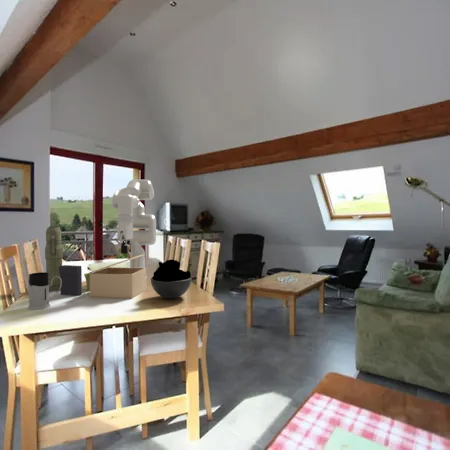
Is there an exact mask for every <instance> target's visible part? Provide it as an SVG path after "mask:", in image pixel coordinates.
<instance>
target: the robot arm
mask: <svg viewBox="0 0 450 450" xmlns="http://www.w3.org/2000/svg"><path fill="white" fill-rule="evenodd" d="M154 197H155V190H154V186H153V183H152V182H151V180H149V179H131V180H130V181H128V183H127V186H126V187H124V188H121V189H118V190H116V191H115V192H114V193H113V194H112V198H111V206H112V208H114V209H116V210H117V209H118V210H117V215H118V216H117V221H118V222H117V233H116V235H117V236H116V239H117V241H118V242H120V254H122V255H123V254H126V255H127V246H126V245H127V244H128V245H130V250H129V253H130V256H131V258H133V257H136V256H140V255H143V254H144V255H143V256H140V257H137V258H134V259H131V260H129V268H146V258H145V257H146V253H145V249H144V248H143V247H142V246H152V245H155V244H156V241H157V218H156V216H155V215H154V214H151V213H150V214H148V213H147V214H146V213H145V212H146V211H145V209H146V208H145V206H144V204H143V203H142V202H141V201H152V200H153V199H155V198H154ZM134 229H137V230H134ZM147 279H148V276H147V275H146V280H147Z"/></svg>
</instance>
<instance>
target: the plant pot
mask: <svg viewBox="0 0 450 450" xmlns="http://www.w3.org/2000/svg"><path fill="white" fill-rule="evenodd" d="M83 277H84V278H85V282H86V289H87V291H90V274H89V272H87V273H84V274H83Z"/></svg>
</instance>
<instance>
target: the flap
mask: <svg viewBox="0 0 450 450" xmlns="http://www.w3.org/2000/svg"><path fill="white" fill-rule="evenodd" d="M126 246H127V254H126V255H127V259H125V260H121V261H118V262H116V263H113V264H109V265H107V266H104V267H101V268H98V269H94V270H92V271H89V272H88V273H89V274H90V273H93V272H96V271H99V270H102V269H105V268H108V267H113V266H116V265H118V264H122V263H125V262H127V261H130V260H131V259H134V258H137V257H140V256H143V255H144V254H143V255H140V256H136V257H133V258H131V256H130V253H129V250H130V245H128V244H127V245H126Z"/></svg>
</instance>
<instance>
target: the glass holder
mask: <svg viewBox="0 0 450 450" xmlns="http://www.w3.org/2000/svg"><path fill="white" fill-rule="evenodd" d="M55 277H58V276H55ZM55 277H53V278H52V280H51V285H52V281H53V279H54V278H55ZM58 278H59V279H60V281H61V284H60V288H59V290H58V291H56V293H55V294H54V295H53V296H52V297H50V291H49V286H51V285H49V284H48V273H46V271H43V272H40V271H39V272H33V273H29V274H28V307H27V309H28V310H29V311H38V310H44V309H48V308H50V307H51V303H50V301H51V300H52V299H53V298H54V297H56V296H57V295H58V293H59V292H60V289H61V285H62V280H61V278H60V277H58Z"/></svg>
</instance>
